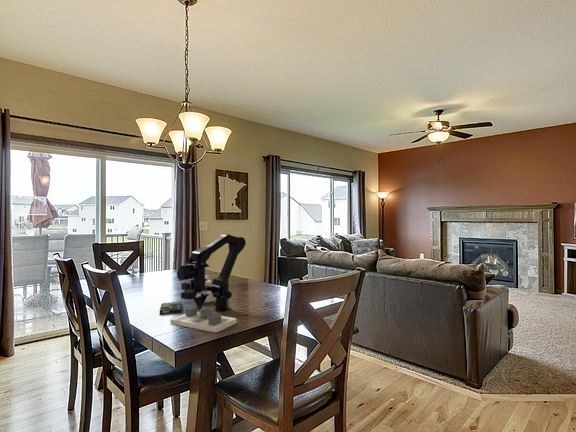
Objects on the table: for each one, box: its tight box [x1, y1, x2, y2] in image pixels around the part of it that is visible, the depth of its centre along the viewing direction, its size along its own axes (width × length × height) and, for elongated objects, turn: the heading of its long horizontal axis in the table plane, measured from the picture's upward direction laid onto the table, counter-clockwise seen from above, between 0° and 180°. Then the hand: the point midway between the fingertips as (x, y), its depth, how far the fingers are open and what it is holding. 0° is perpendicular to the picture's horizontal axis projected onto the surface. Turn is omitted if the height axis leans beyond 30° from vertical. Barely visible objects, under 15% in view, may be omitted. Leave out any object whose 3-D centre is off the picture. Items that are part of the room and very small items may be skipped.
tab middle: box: [199, 308, 213, 319], centre depth 155 cm, size 4×4×3 cm
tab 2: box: [209, 314, 222, 325], centre depth 147 cm, size 4×4×3 cm
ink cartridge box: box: [204, 274, 212, 303], centre depth 191 cm, size 9×5×15 cm, turn 110°
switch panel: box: [169, 311, 238, 333], centre depth 154 cm, size 14×26×2 cm, turn 62°
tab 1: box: [185, 306, 198, 316], centre depth 159 cm, size 4×4×3 cm
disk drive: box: [159, 301, 183, 316], centre depth 175 cm, size 10×3×15 cm
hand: (199, 309), depth 164 cm, fingers closed
